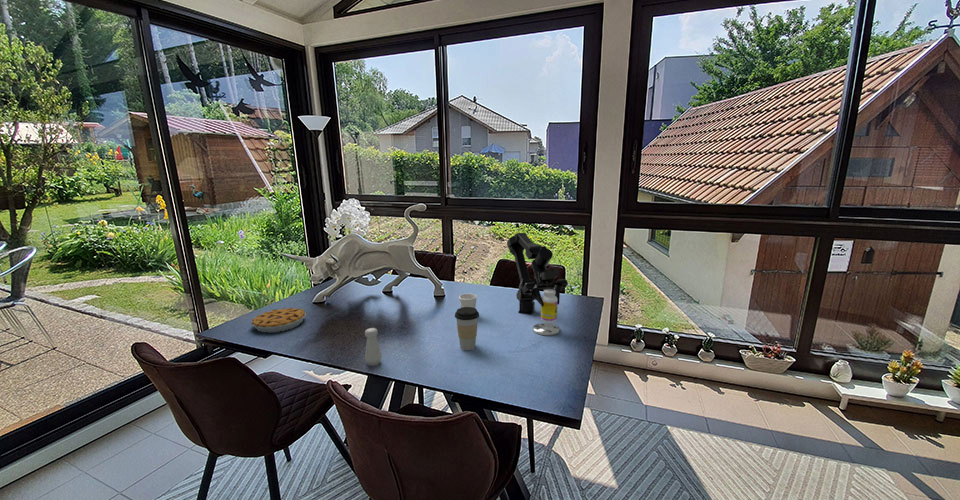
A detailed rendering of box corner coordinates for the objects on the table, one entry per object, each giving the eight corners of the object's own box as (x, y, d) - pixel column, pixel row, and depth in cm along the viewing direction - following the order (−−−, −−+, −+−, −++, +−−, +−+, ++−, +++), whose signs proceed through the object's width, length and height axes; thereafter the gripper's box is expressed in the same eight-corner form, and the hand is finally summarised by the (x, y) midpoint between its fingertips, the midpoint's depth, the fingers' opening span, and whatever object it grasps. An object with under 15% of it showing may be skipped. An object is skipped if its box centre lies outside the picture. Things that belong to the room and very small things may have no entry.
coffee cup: (461, 354, 144) (460, 316, 141) (451, 344, 152) (450, 308, 149) (484, 349, 148) (483, 312, 145) (473, 339, 156) (472, 304, 153)
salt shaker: (367, 359, 142) (364, 326, 139) (383, 358, 142) (380, 325, 139) (363, 367, 136) (360, 333, 133) (380, 366, 136) (377, 332, 134)
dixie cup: (467, 321, 175) (466, 300, 173) (455, 316, 181) (455, 296, 179) (481, 316, 181) (480, 296, 178) (469, 311, 187) (469, 292, 185)
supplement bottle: (556, 323, 157) (557, 294, 154) (540, 322, 158) (541, 292, 155) (556, 317, 163) (558, 288, 160) (541, 316, 165) (541, 287, 161)
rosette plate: (529, 326, 168) (529, 324, 168) (552, 323, 171) (552, 321, 171) (539, 337, 158) (539, 334, 157) (563, 333, 160) (563, 331, 160)
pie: (276, 314, 189) (275, 304, 188) (316, 317, 184) (315, 307, 183) (240, 332, 168) (239, 321, 167) (284, 336, 163) (283, 325, 162)
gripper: (525, 264, 156) (535, 299, 149) (567, 260, 161) (579, 294, 153) (518, 276, 166) (527, 310, 158) (558, 273, 170) (568, 305, 163)
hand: (550, 305), depth 158 cm, fingers closed on supplement bottle, 7 cm apart
